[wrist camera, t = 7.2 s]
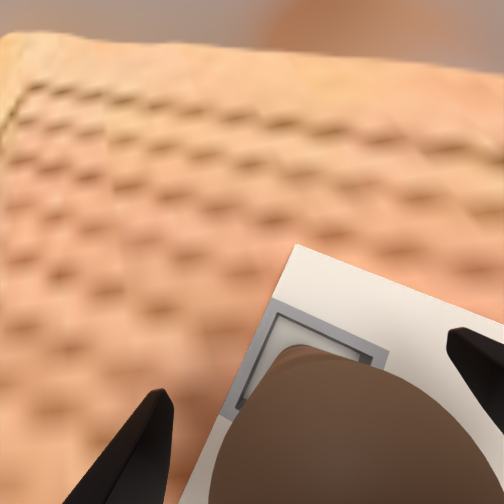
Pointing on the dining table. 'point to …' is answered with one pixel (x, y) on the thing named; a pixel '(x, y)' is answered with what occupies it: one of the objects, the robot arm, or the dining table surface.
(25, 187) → the dining table surface
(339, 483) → the stool leg
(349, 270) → the stool seat
